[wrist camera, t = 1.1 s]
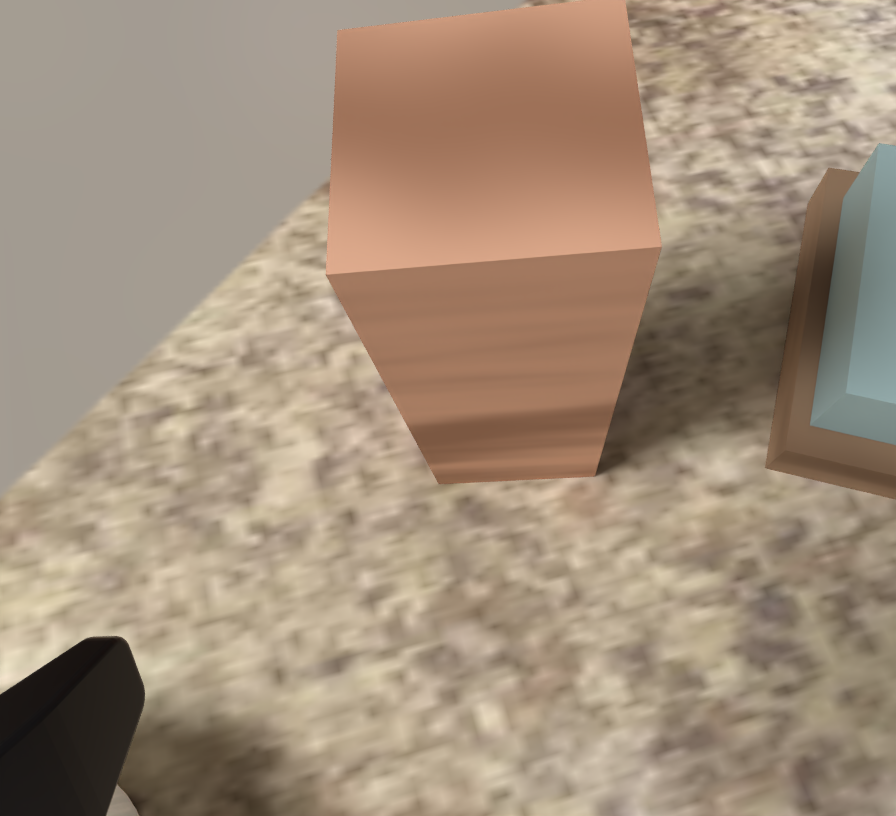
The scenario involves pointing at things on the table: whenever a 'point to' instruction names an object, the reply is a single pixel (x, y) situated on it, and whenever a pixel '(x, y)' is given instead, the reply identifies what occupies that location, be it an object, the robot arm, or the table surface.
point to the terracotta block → (495, 229)
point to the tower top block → (862, 311)
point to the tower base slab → (791, 433)
